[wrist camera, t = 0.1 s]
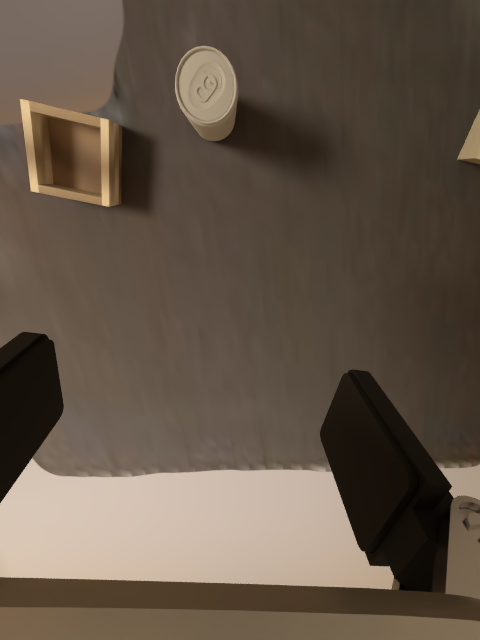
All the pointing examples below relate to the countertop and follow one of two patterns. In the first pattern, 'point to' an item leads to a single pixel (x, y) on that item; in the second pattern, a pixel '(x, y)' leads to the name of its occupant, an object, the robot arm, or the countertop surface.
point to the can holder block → (73, 154)
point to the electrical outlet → (472, 144)
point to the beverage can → (207, 92)
